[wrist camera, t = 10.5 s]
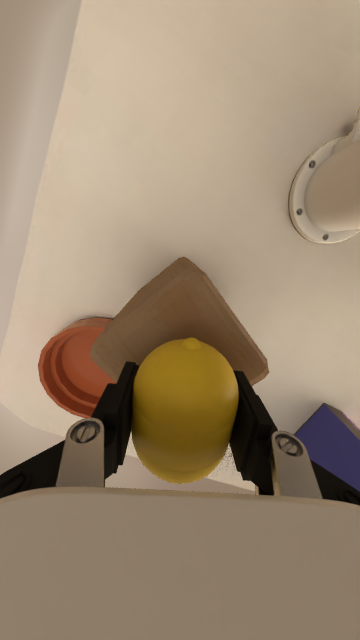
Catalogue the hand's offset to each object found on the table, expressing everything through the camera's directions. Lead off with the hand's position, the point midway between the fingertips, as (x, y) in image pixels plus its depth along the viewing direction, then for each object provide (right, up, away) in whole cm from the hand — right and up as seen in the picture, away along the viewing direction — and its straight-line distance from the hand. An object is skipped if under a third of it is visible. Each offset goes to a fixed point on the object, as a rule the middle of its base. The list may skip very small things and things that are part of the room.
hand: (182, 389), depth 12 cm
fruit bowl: (-14, -4, +25) cm, 29 cm away
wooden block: (0, +7, +21) cm, 23 cm away
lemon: (0, 0, +1) cm, 1 cm away
